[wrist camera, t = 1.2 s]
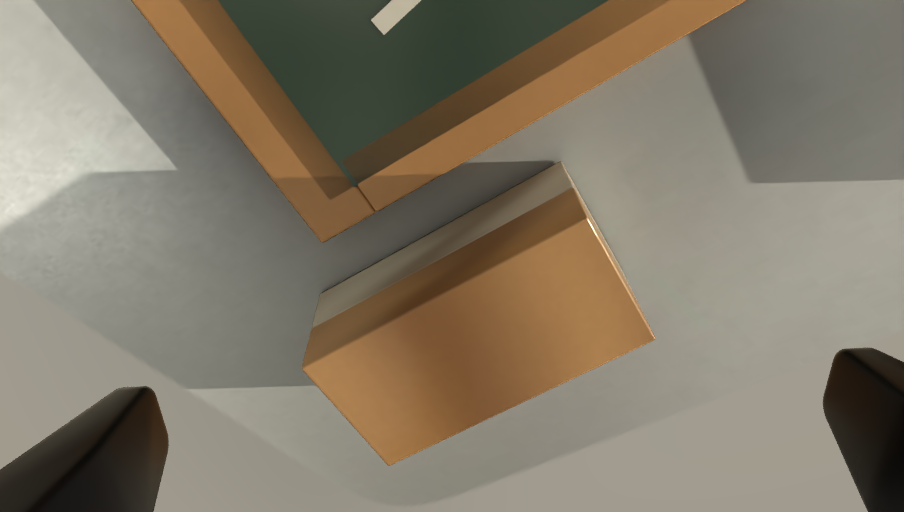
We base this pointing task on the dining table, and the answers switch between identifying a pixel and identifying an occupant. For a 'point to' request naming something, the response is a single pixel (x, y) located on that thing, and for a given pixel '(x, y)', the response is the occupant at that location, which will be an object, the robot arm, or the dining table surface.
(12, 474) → the robot arm
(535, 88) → the chalkboard
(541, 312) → the eraser
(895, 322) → the dining table surface
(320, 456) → the dining table surface
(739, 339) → the dining table surface
